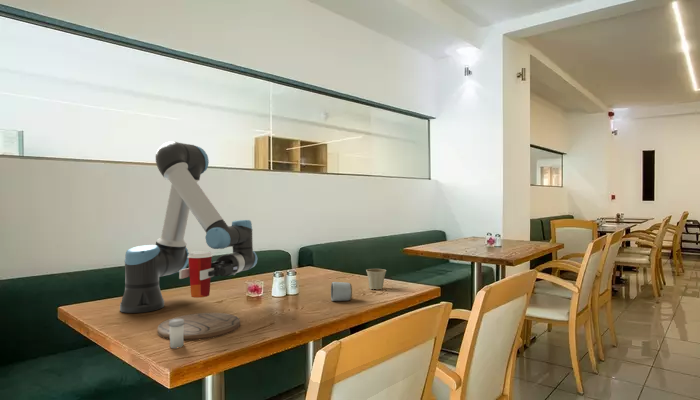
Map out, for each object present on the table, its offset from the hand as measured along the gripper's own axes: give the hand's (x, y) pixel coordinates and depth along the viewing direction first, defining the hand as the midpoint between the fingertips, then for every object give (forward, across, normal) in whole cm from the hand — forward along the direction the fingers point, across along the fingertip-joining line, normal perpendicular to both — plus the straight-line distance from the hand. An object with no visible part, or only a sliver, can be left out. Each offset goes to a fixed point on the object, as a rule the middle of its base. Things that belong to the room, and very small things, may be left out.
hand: (190, 275), depth 133 cm
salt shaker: (+12, -4, -18) cm, 22 cm away
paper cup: (-5, 0, -8) cm, 9 cm away
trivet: (-5, 0, -18) cm, 19 cm away
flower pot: (-78, -43, -18) cm, 91 cm away
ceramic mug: (-53, -33, -18) cm, 65 cm away
